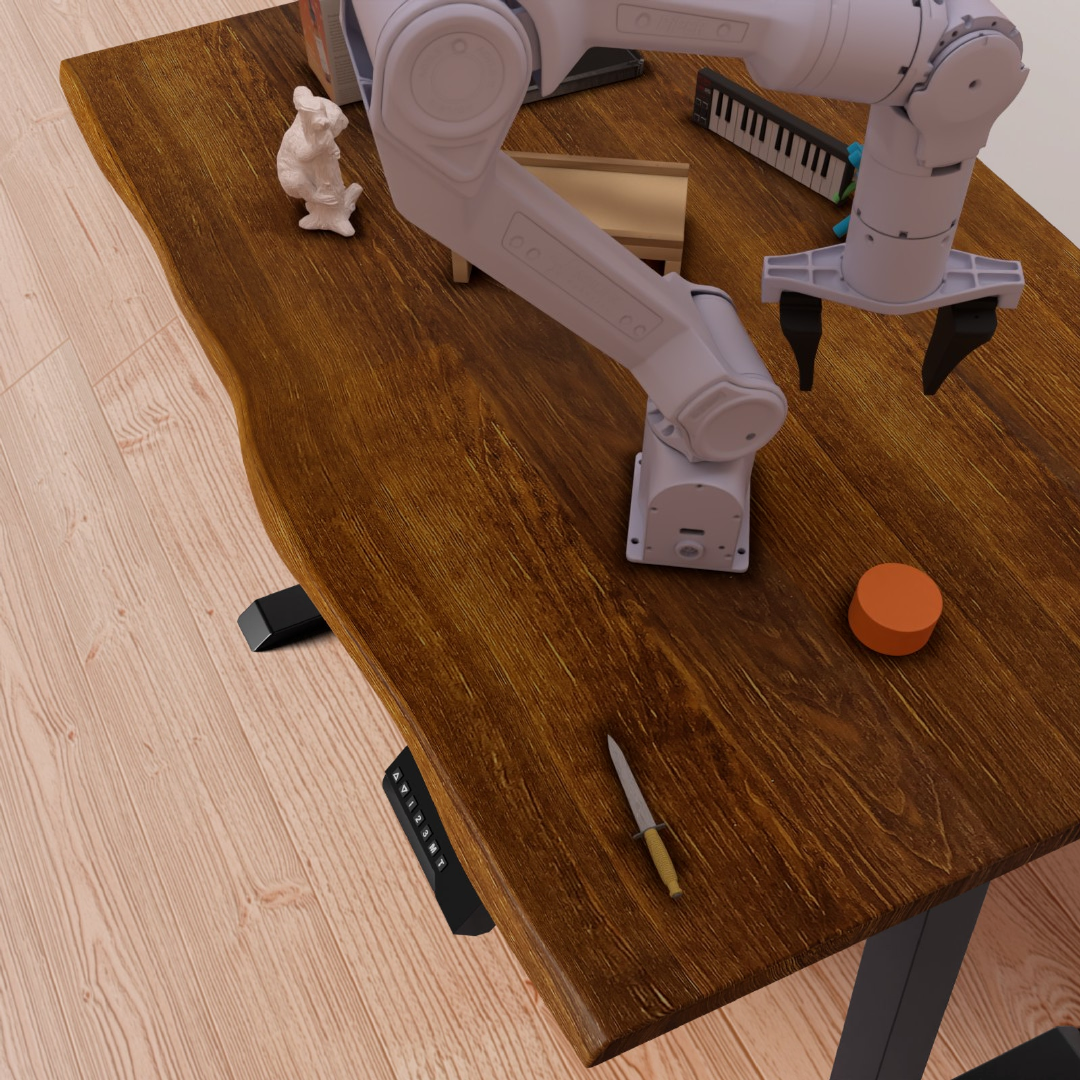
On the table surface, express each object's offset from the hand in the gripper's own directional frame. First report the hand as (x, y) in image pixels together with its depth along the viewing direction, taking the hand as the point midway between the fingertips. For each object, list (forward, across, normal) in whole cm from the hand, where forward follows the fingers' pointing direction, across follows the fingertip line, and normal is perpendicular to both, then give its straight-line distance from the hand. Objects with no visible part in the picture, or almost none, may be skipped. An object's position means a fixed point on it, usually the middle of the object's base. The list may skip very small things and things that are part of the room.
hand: (866, 382), depth 74 cm
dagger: (+8, +13, +27) cm, 31 cm away
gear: (+10, -4, -28) cm, 29 cm away
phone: (+9, +25, -49) cm, 56 cm away
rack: (+8, +21, -22) cm, 32 cm away
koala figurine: (+7, +42, -24) cm, 49 cm away
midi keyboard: (+10, +5, -37) cm, 38 cm away
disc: (+9, -2, +12) cm, 15 cm away
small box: (+8, +45, -46) cm, 64 cm away
